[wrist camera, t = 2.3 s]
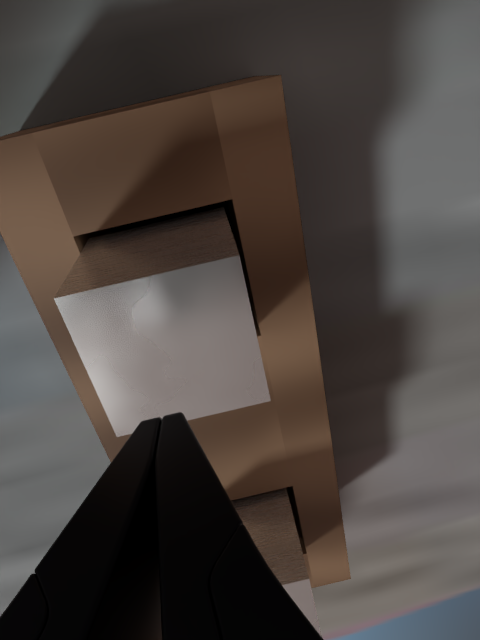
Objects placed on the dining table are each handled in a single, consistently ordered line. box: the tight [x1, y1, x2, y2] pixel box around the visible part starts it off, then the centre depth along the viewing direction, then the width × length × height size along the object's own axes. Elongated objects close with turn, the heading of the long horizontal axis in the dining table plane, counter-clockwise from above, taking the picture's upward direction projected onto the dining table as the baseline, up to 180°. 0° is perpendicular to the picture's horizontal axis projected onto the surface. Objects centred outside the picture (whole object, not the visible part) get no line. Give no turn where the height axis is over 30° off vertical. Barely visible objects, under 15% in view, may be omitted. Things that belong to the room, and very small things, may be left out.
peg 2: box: [231, 488, 322, 637], centre depth 20 cm, size 4×4×4 cm
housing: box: [0, 75, 351, 588], centre depth 20 cm, size 24×9×5 cm, turn 12°
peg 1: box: [54, 207, 271, 437], centre depth 13 cm, size 4×4×4 cm
